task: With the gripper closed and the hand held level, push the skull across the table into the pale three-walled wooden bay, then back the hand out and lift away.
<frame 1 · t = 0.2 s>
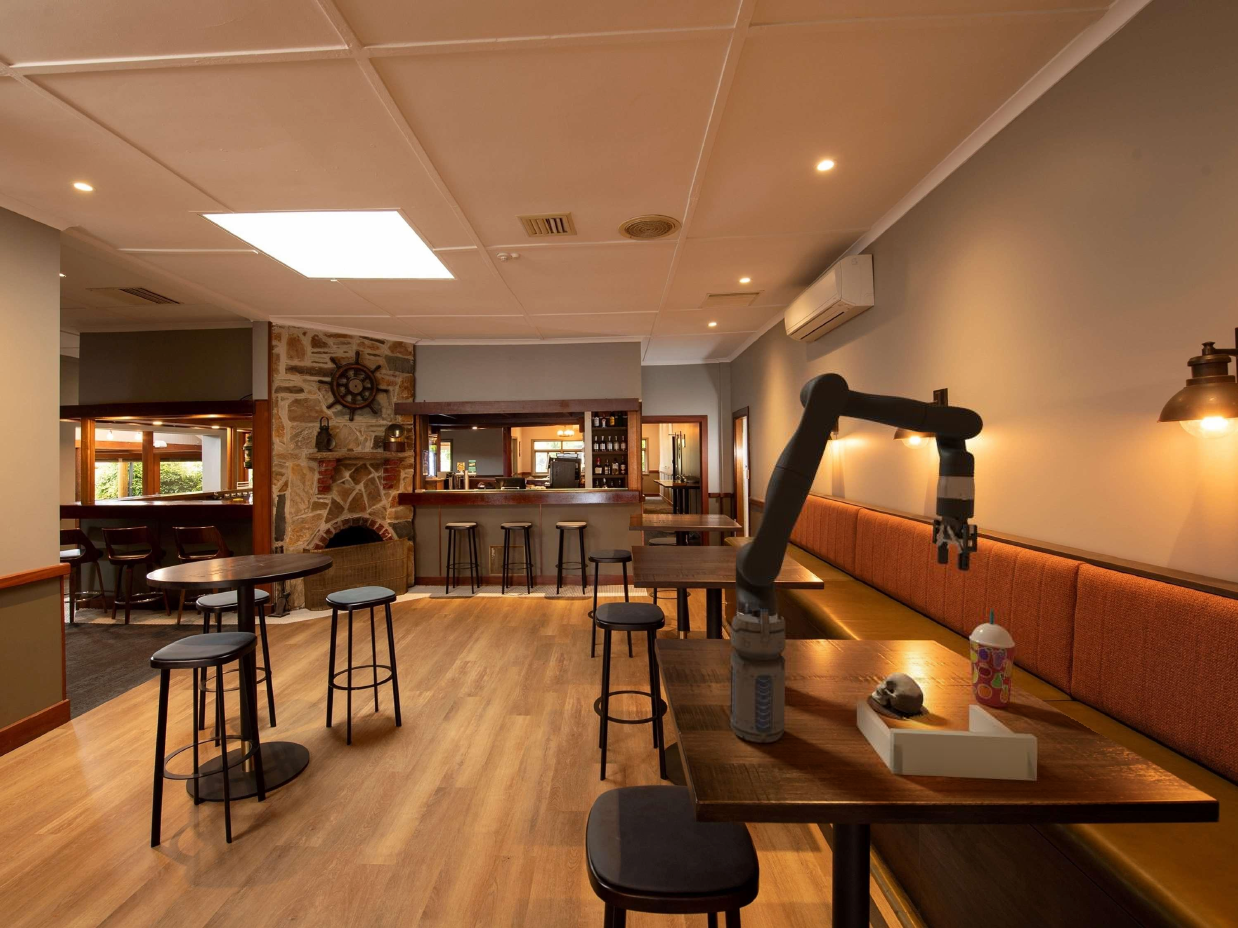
hand: (952, 566, 130), 29 cm above the table, tool pointing down, fingers open, 8 cm apart
skull: (897, 709, 121), on the table
smoothie: (991, 703, 124), on the table
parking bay: (936, 748, 104), on the table
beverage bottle: (755, 731, 110), on the table
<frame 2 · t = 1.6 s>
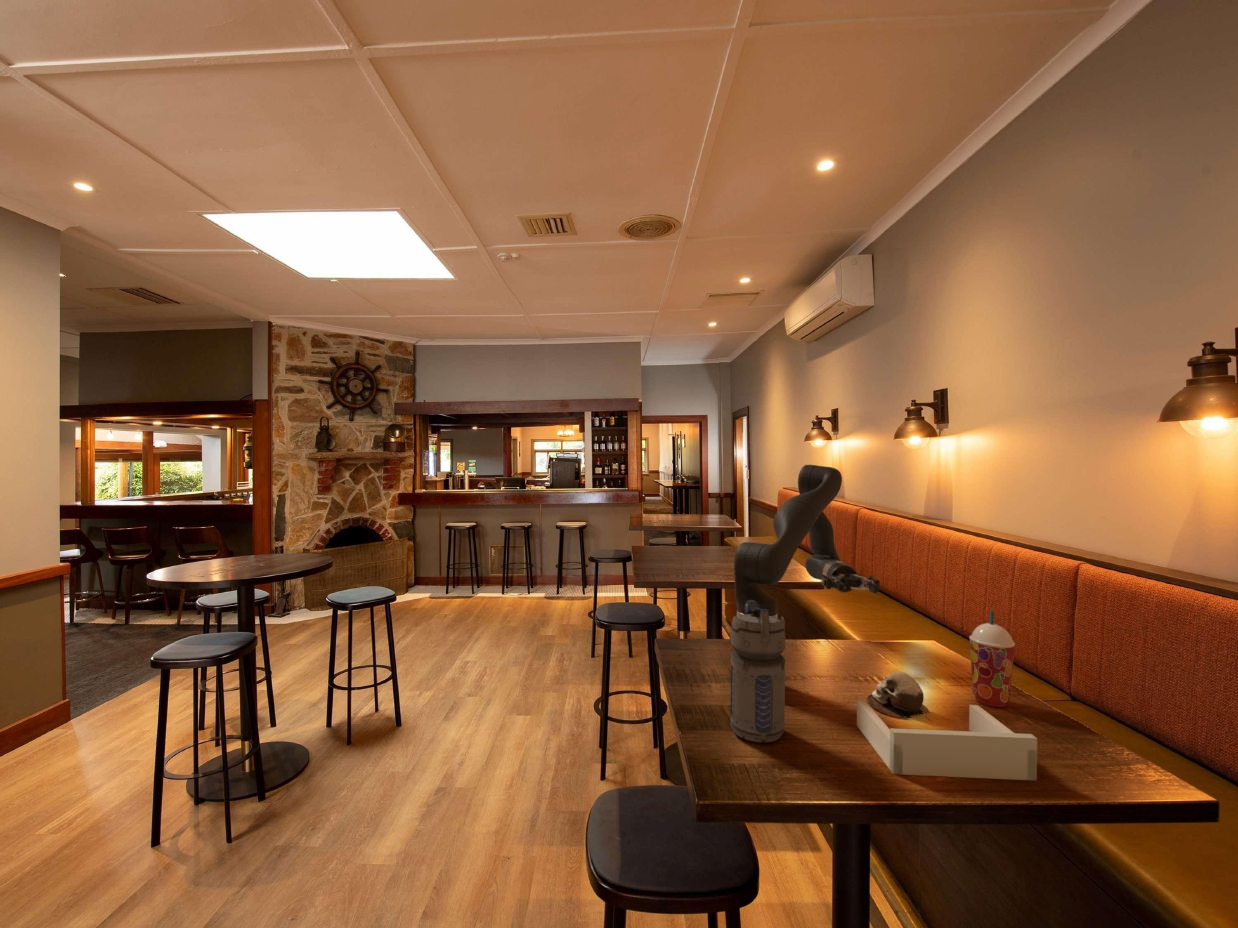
hand: (859, 588, 144), 20 cm above the table, tool horizontal, fingers open, 7 cm apart
nothing on the table moved.
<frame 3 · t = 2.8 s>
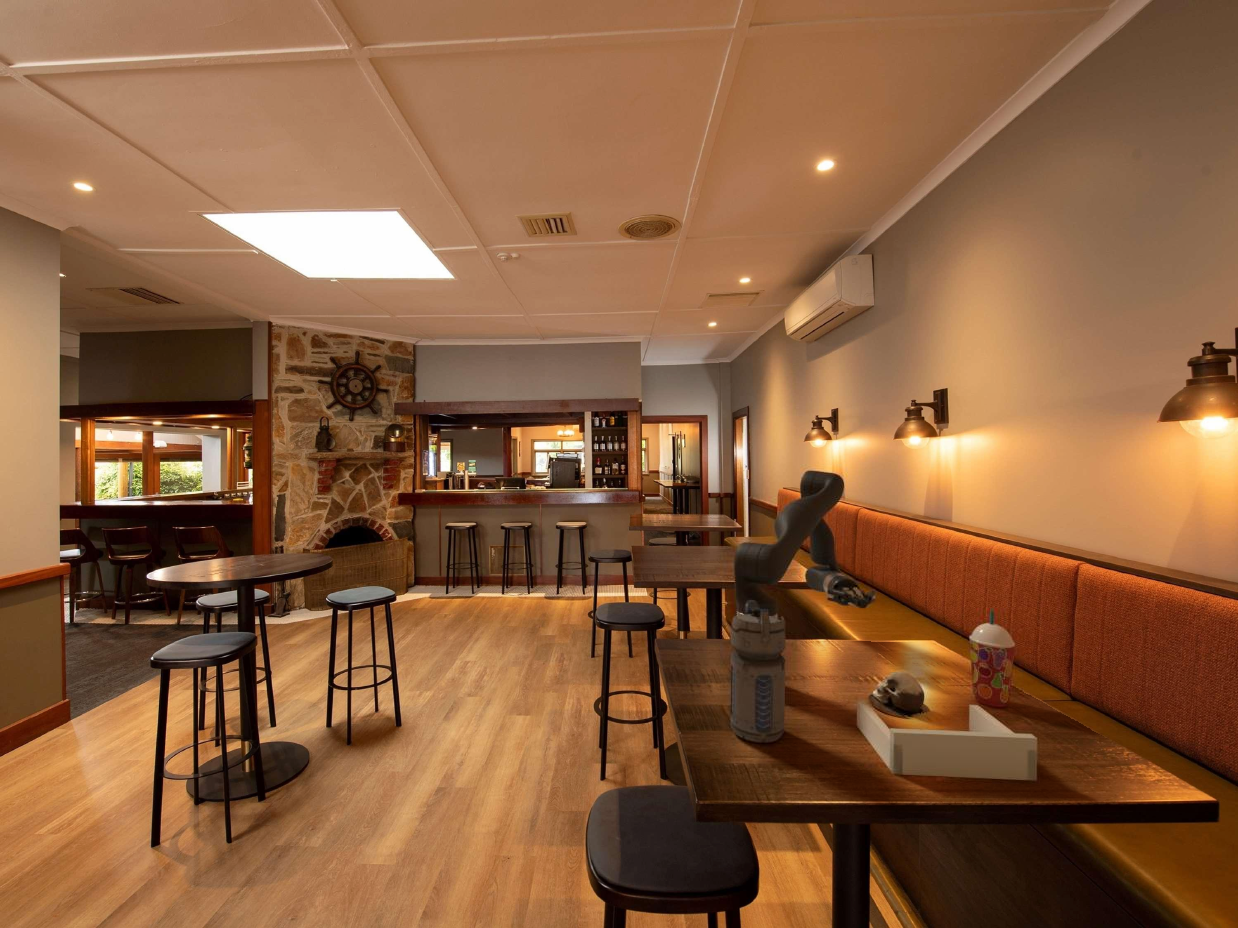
hand: (863, 604, 141), 17 cm above the table, tool horizontal, fingers closed
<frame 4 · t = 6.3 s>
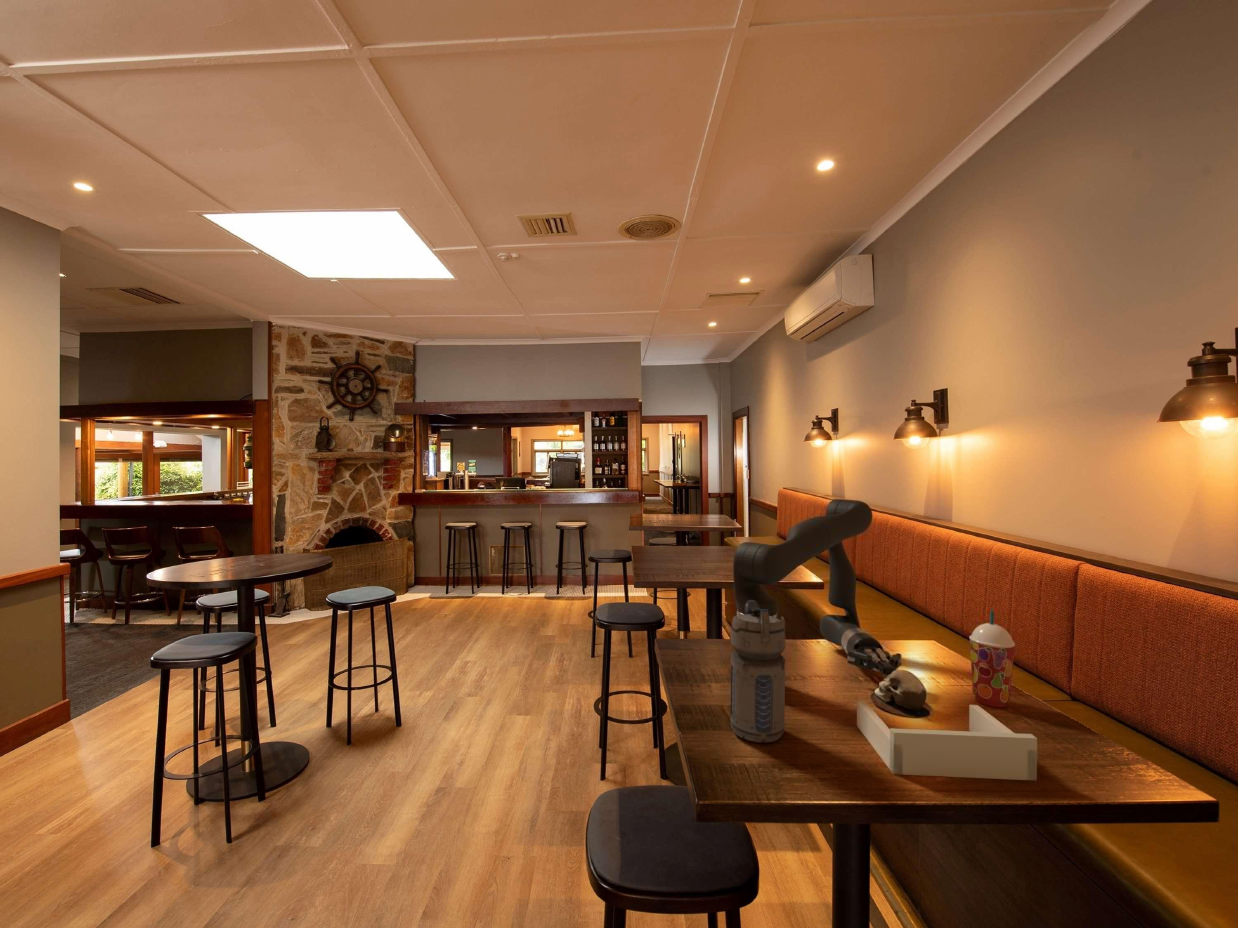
hand: (889, 672, 125), 6 cm above the table, tool horizontal, fingers closed
skull: (900, 706, 122), on the table, touching gripper
everything else where it was.
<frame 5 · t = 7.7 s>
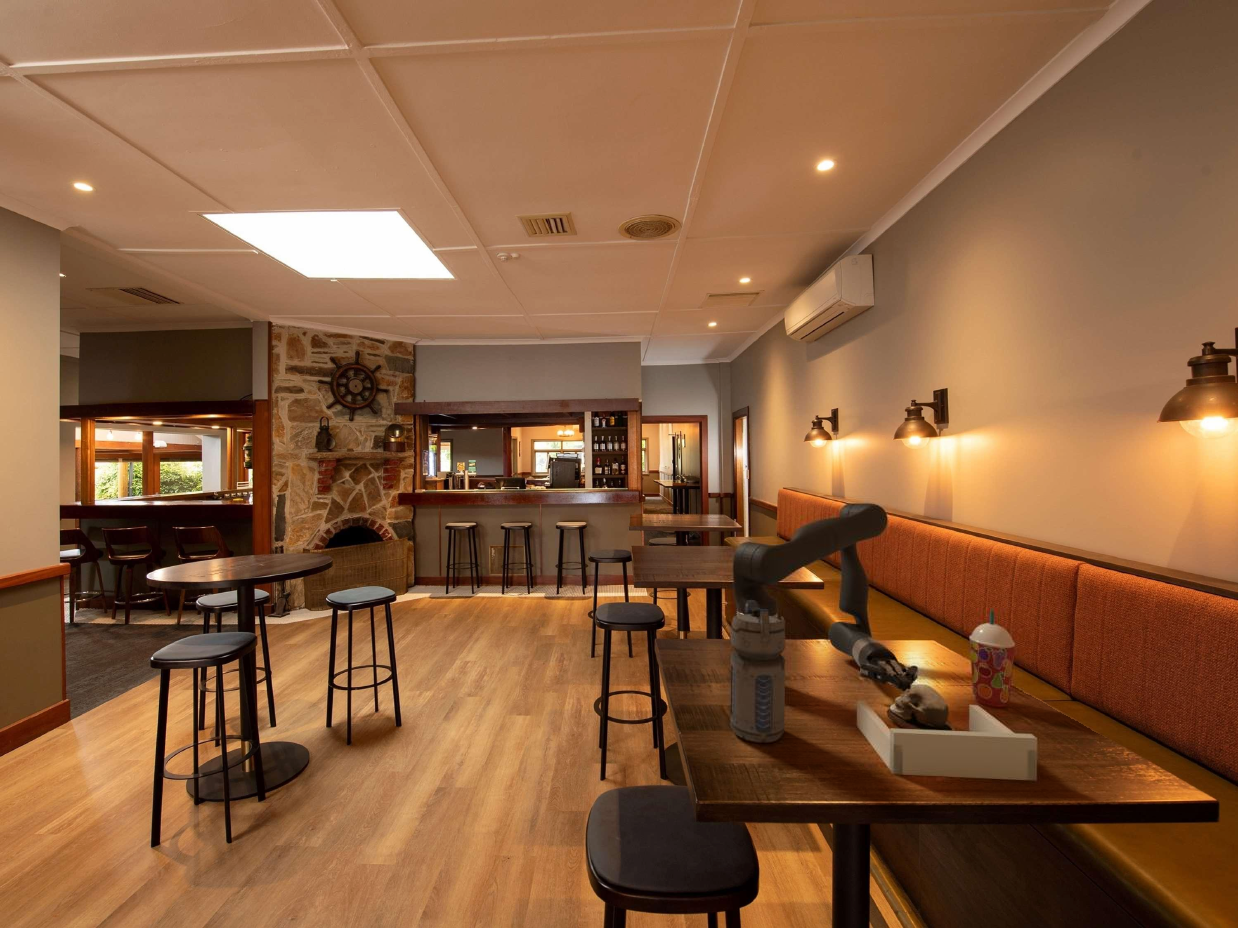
hand: (906, 686, 117), 6 cm above the table, tool horizontal, fingers closed
skull: (919, 723, 114), on the table, touching gripper
everything else where it was.
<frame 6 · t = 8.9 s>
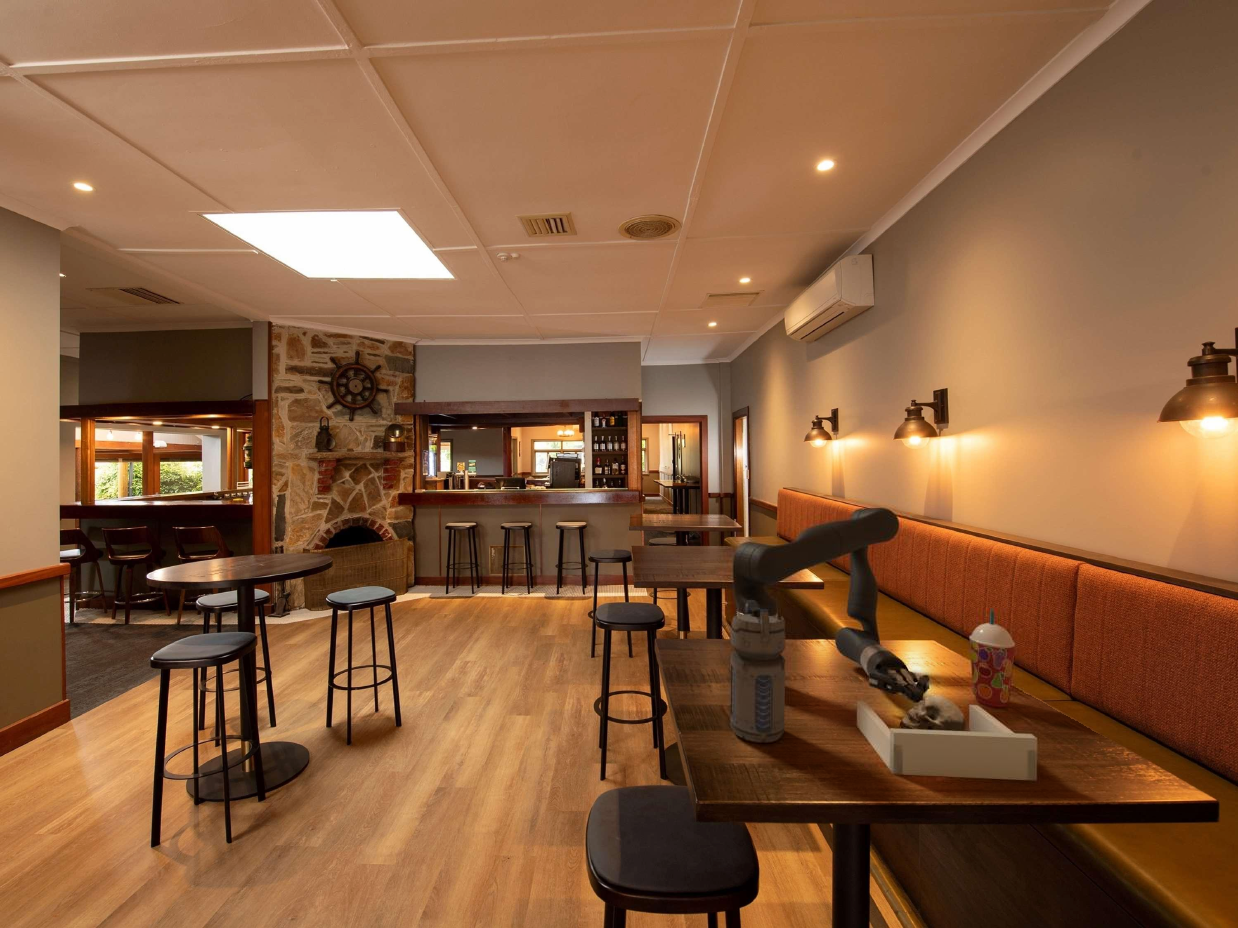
hand: (918, 697, 111), 6 cm above the table, tool horizontal, fingers closed
skull: (934, 736, 109), on the table
everything else where it was.
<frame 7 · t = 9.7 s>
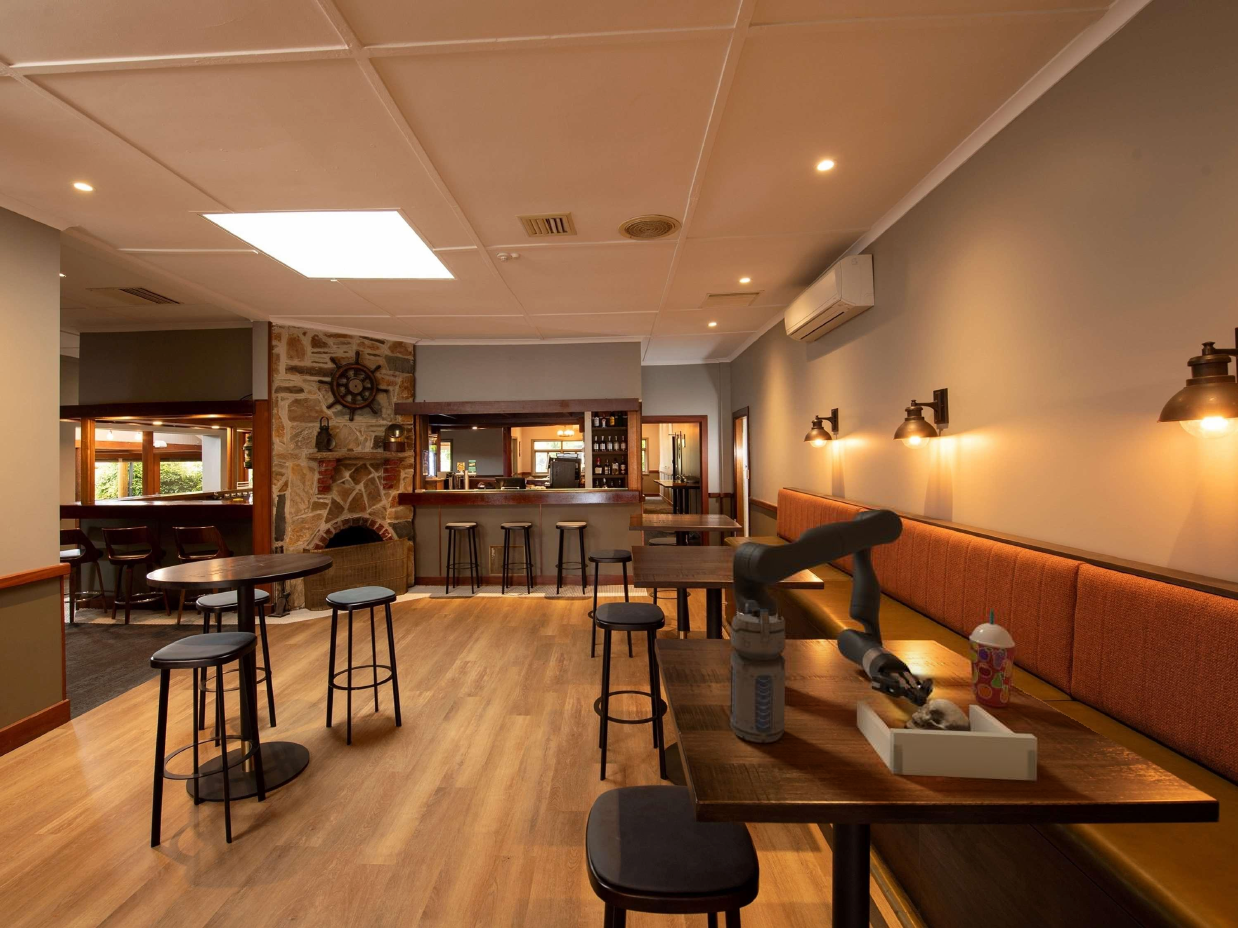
hand: (921, 701, 110), 6 cm above the table, tool horizontal, fingers closed
skull: (938, 740, 108), on the table
everything else where it was.
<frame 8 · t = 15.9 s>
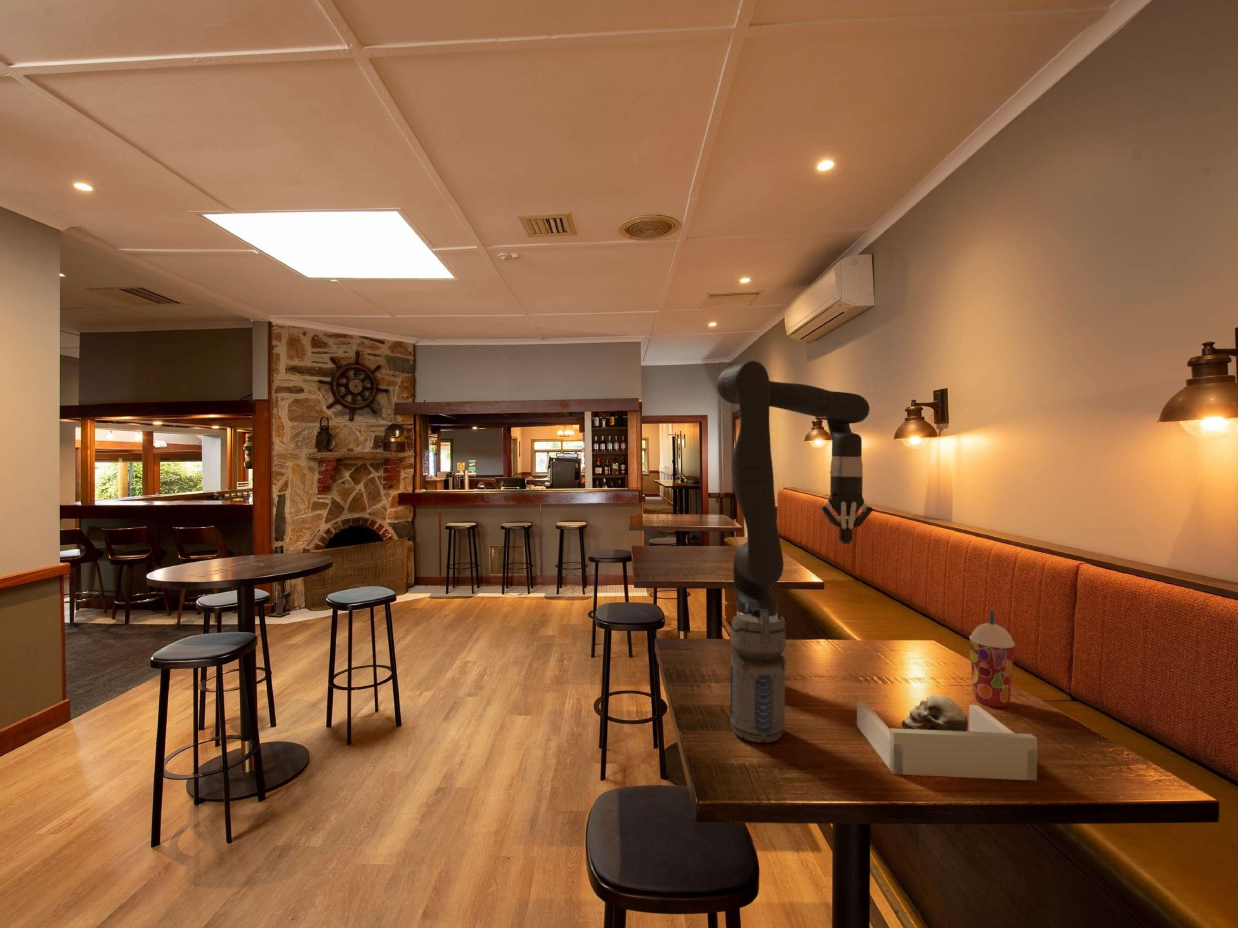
hand: (845, 543, 143), 32 cm above the table, tool pointing down, fingers closed
skull: (936, 736, 109), on the table
everything else where it was.
at the end: skull inside the target area (7.0 cm from its centre), on the table; skull tilted 0°; the gripper is holding nothing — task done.
